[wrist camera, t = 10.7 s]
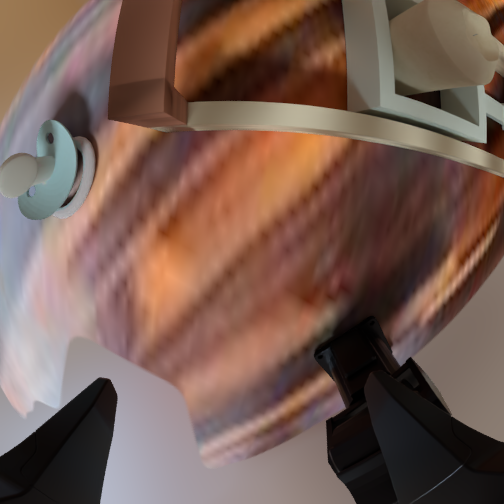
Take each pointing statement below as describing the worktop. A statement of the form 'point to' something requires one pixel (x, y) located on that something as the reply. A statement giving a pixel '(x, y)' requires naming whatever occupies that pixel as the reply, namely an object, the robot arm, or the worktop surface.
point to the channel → (242, 112)
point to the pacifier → (49, 174)
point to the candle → (441, 48)
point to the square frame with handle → (383, 85)
